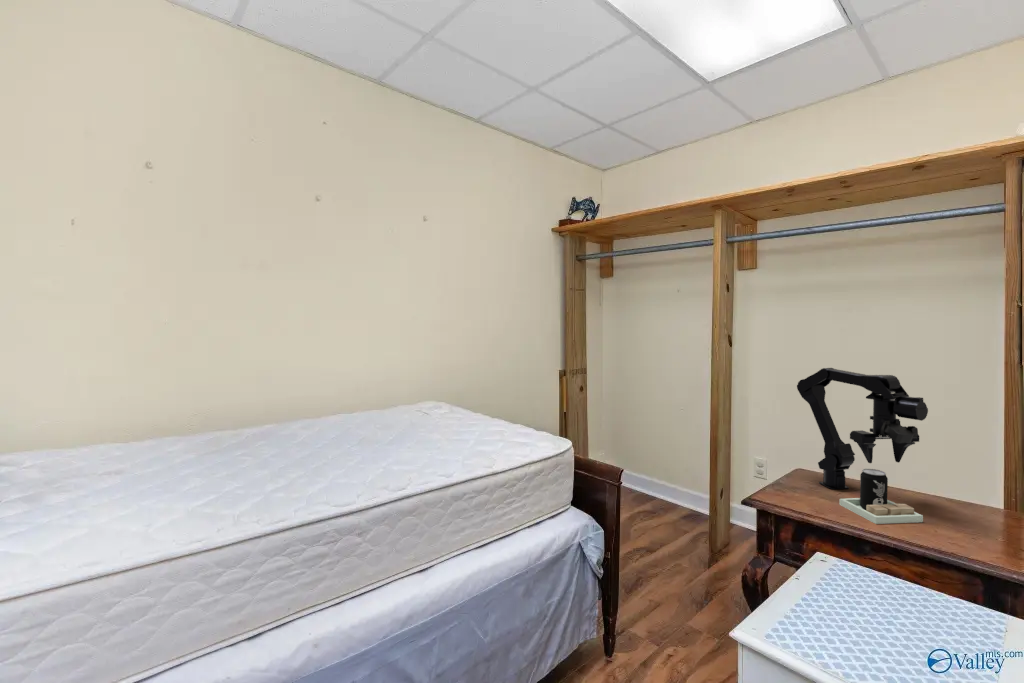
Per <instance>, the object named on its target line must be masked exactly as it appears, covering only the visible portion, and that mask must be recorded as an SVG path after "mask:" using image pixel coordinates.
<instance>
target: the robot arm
mask: <svg viewBox="0 0 1024 683" xmlns="http://www.w3.org/2000/svg"><path fill="white" fill-rule="evenodd" d="M831 381H833V382H839V383H843V384H849V385H854V386H859V387H861V388H863V389H865V390H867V391H869V392H870V393H869V394H868V395H867V396H865V399H868V400H872V402H873V405H872V408H873V409H872V410H873V411H872V415H869V420H872V428H869V431H865V430H852V431H851V432H850V433H849V440H852V441H853V442H854V443H856V444H857V445H858V447H859V449H860V450H861V452H862V454H863V455H864V457H865V460H866V462H867V463H868V464H872V463H873V452H874V447H876V446H877V444H876V443H875V442H876V440H891V443H892V450H893V451H892V452H893V456H894V457H893V458H894V461H895V463H900V462H901V460H902V458H903V457H904V454H905V452H906V451H907V449H908V448H909V447H910V446H912V445H915V444H916V443H919V442H920V435H919V432H918V427H917V426H916V425H915V426H914V425H910V426H909V425H908V426H903V425H901V420H900V419H899V418H904V419H908V420H909V419H910V420H916V421H925V419H926V418H927V416H928V414H929V413H928V412H929V408H928V405H927V404H926V402H925V401H924V397H914V396H910V395H909V394H908V392H906V389H904V387H903V386H902V385H901V382H900V379H898V377H897V376H895V375H893V374H865V373H859V372H854V371H853V372H852V371H848V370H842V369H836V368H833V367H823V368H820V369H819V370H818V371H816V372H815V373H813V374H811V375H809V376H807V377H805V378H802V379H800V380H799V381H798V382H797V384H796V389H797V392H798V393H799V395H800V396H801V398H802V399H803V400H804V401H805V402H807V404H808V405H809V407H810V409H811V411H812V414H813V417H814V419H815V422H816V424H817V426H818V429H819V432H820V434H821V437H822V439H823V441H824V446H823V453H824V457H823V459H821V460H820V461H819V462H817V465H818V468H819V469H820V470H823V476H822V478H823V481H818V483H819V484H820V485H823V486H824V487H826V488H829V489H830V490H849V489H850V487H849V486H847V485H846V471H845V470H850V467H851V466H852V465H853V464H854V462H855V460H856V458H855V455H856V453H855V452H854V451H853V449H852V445H851V444H850V443H845V442H844V441H843V440H842V439H841V437H840V435H839V431H838V430H837V427H836V425H835V423H834V420H833V417H832V415H831V413H830V410H829V409H828V406H827V403H826V401H825V400H826V392H827V391H826V389H825V387H827V386H829V384H830V383H832V382H831ZM897 417H898V418H897Z"/></svg>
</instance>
